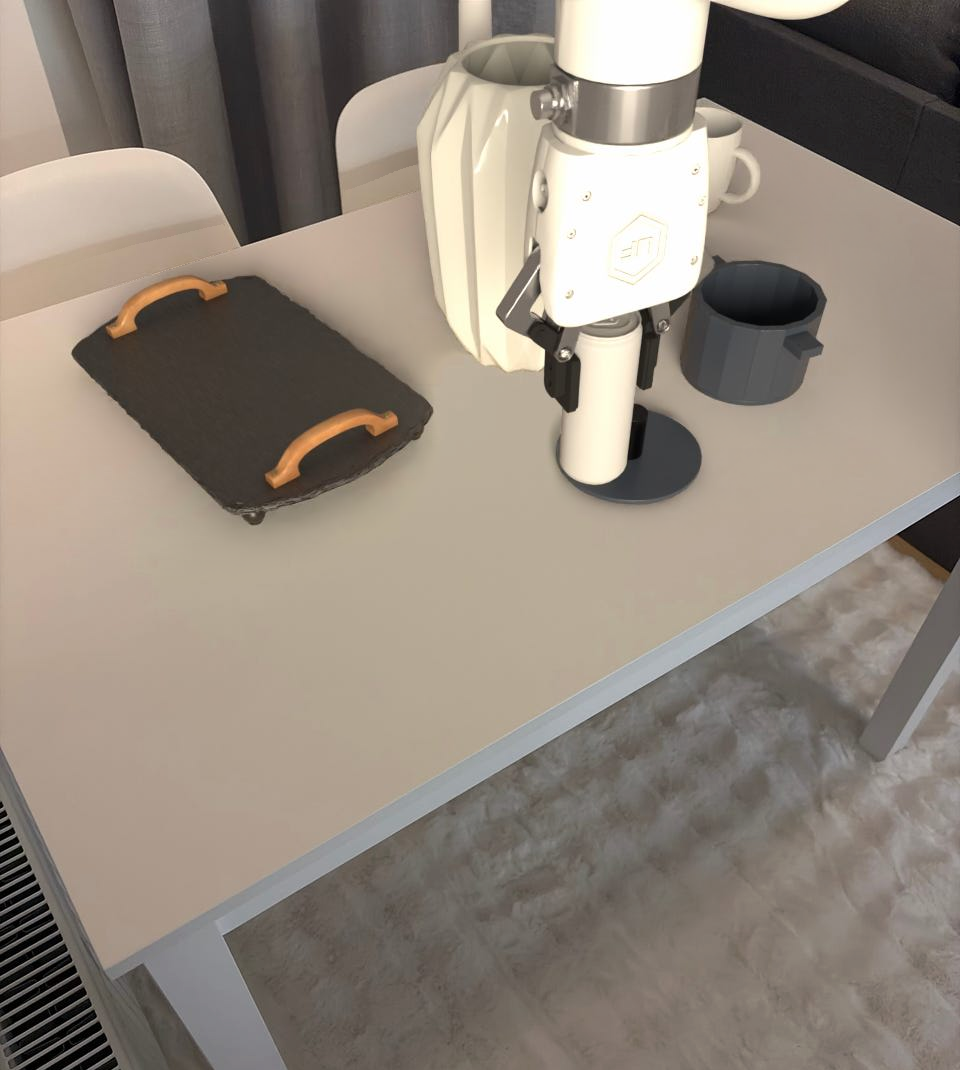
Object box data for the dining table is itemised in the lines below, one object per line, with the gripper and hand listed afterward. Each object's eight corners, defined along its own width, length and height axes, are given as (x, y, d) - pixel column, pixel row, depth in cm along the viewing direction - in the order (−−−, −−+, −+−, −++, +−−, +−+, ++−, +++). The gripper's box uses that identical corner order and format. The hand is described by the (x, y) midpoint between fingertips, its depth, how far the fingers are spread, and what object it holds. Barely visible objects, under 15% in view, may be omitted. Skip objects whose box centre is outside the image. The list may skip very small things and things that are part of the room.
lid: (653, 402, 95) (660, 353, 91) (728, 484, 87) (740, 435, 83) (531, 437, 92) (532, 389, 87) (597, 526, 84) (603, 478, 79)
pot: (744, 311, 105) (760, 237, 99) (845, 401, 95) (871, 325, 88) (645, 338, 102) (655, 264, 96) (738, 434, 92) (757, 358, 85)
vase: (429, 399, 96) (410, 110, 74) (429, 295, 108) (413, 21, 87) (620, 394, 96) (657, 103, 75) (599, 291, 108) (624, 16, 87)
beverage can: (629, 488, 67) (647, 338, 58) (560, 489, 67) (568, 340, 58) (622, 444, 70) (639, 296, 61) (557, 445, 70) (564, 297, 61)
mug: (643, 208, 120) (653, 125, 113) (678, 182, 125) (690, 100, 117) (733, 237, 116) (750, 153, 108) (766, 208, 120) (785, 125, 112)
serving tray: (62, 361, 101) (40, 308, 96) (248, 284, 110) (237, 232, 105) (254, 556, 82) (239, 503, 77) (460, 443, 91) (458, 389, 86)
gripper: (507, 158, 45) (508, 458, 59) (802, 91, 49) (738, 386, 63) (446, 102, 50) (460, 393, 64) (722, 45, 54) (678, 330, 68)
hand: (599, 387), depth 63 cm, fingers closed on beverage can, 4 cm apart
